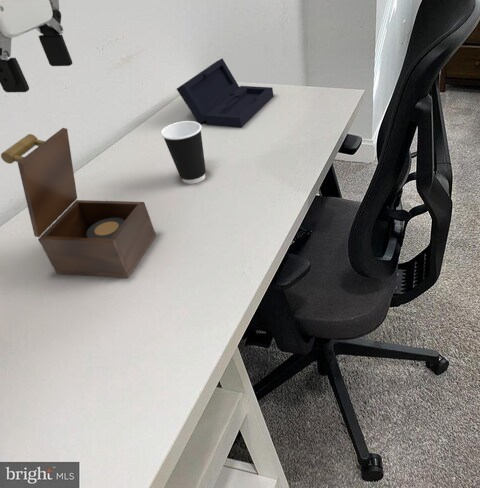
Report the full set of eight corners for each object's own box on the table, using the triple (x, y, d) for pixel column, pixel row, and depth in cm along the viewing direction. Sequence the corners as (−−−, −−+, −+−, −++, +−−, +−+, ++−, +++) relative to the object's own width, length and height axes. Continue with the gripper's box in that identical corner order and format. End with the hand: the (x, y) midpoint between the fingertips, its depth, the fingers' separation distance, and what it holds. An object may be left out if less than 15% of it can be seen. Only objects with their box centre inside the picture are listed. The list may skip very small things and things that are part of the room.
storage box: (241, 127, 120) (234, 88, 114) (185, 122, 124) (175, 84, 118) (273, 96, 135) (268, 59, 129) (222, 93, 140) (215, 57, 134)
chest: (156, 236, 86) (144, 201, 81) (127, 277, 77) (112, 242, 73) (91, 233, 88) (76, 199, 83) (56, 274, 79) (37, 239, 75)
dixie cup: (167, 182, 101) (151, 133, 94) (193, 165, 106) (181, 118, 99) (194, 191, 97) (181, 141, 90) (220, 173, 102) (209, 124, 95)
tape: (107, 267, 78) (97, 245, 75) (89, 252, 82) (79, 230, 79) (142, 248, 82) (134, 226, 79) (123, 234, 85) (115, 212, 82)
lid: (67, 128, 74) (34, 120, 74) (22, 163, 66) (-15, 154, 66) (77, 198, 83) (48, 190, 83) (38, 237, 74) (6, 229, 74)
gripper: (-3, -83, 60) (53, 57, 71) (-122, -67, 47) (-31, 103, 57) (51, -87, 59) (100, 56, 70) (-55, -71, 46) (25, 103, 56)
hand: (41, 77), depth 64 cm, fingers open, 9 cm apart
